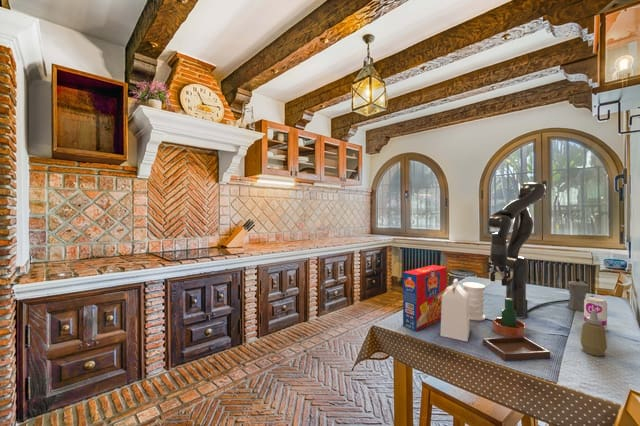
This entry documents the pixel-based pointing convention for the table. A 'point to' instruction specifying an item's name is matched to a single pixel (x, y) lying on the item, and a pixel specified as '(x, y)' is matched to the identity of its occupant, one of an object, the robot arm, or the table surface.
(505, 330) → the bowl
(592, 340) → the squeeze bottle
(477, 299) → the decorative container
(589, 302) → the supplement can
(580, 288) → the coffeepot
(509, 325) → the bottle
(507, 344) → the tray
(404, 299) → the pasta box
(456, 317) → the milk
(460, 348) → the table surface
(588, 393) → the table surface
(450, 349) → the table surface
